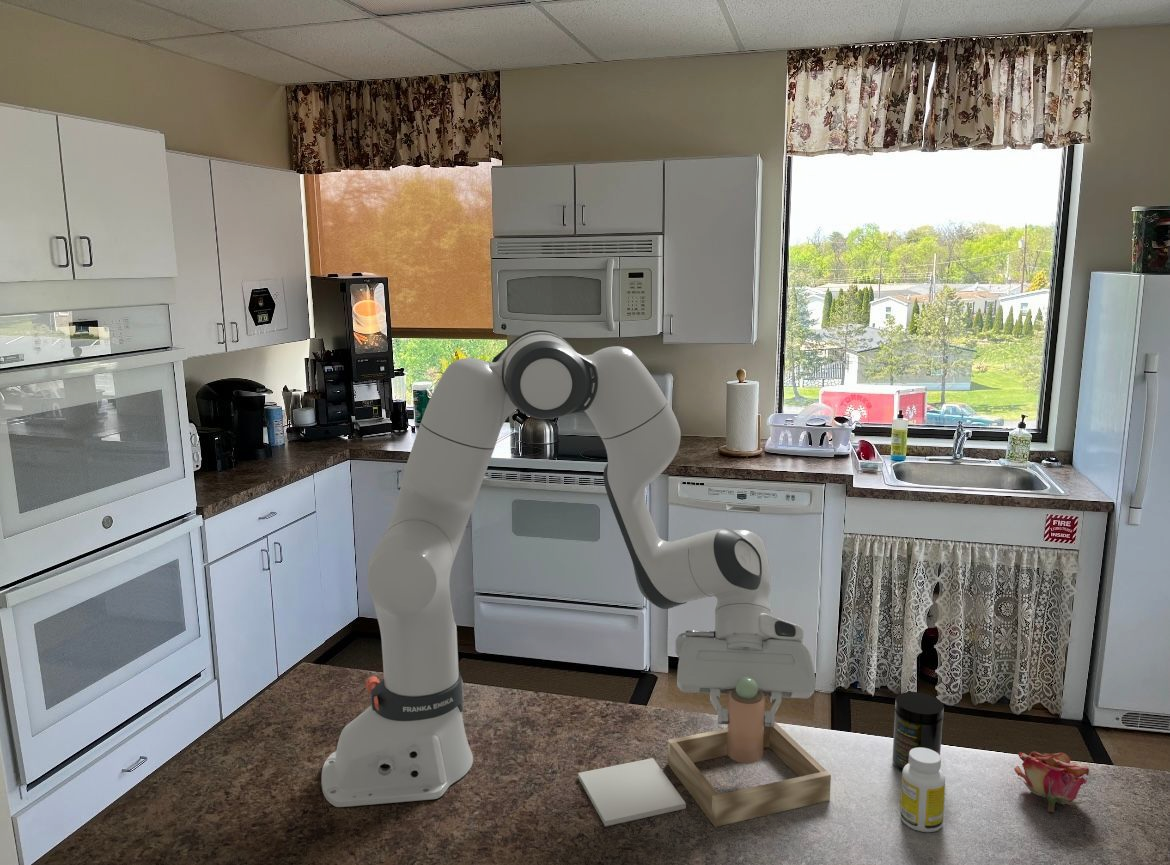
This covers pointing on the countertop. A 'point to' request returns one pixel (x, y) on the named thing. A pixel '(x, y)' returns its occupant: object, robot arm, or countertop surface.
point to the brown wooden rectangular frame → (755, 799)
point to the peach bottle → (745, 722)
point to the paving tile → (630, 791)
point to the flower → (1052, 777)
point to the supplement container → (916, 725)
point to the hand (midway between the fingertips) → (746, 724)
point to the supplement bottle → (923, 791)
